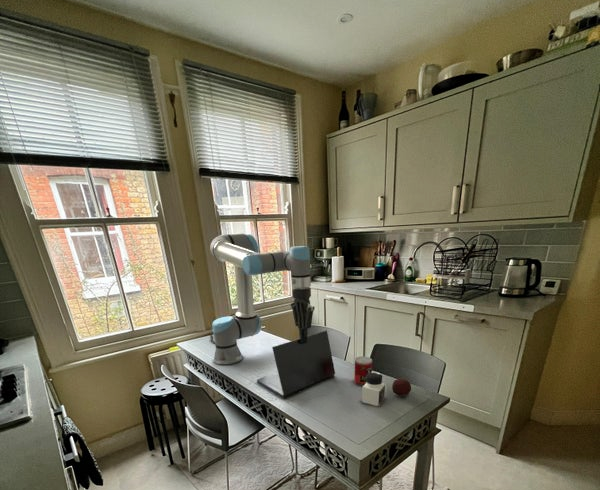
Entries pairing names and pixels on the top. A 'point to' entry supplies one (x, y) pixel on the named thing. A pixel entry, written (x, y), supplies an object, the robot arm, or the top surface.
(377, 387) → the medicine bottle
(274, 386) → the laptop
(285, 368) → the laptop screen
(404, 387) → the red apple
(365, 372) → the canned food
